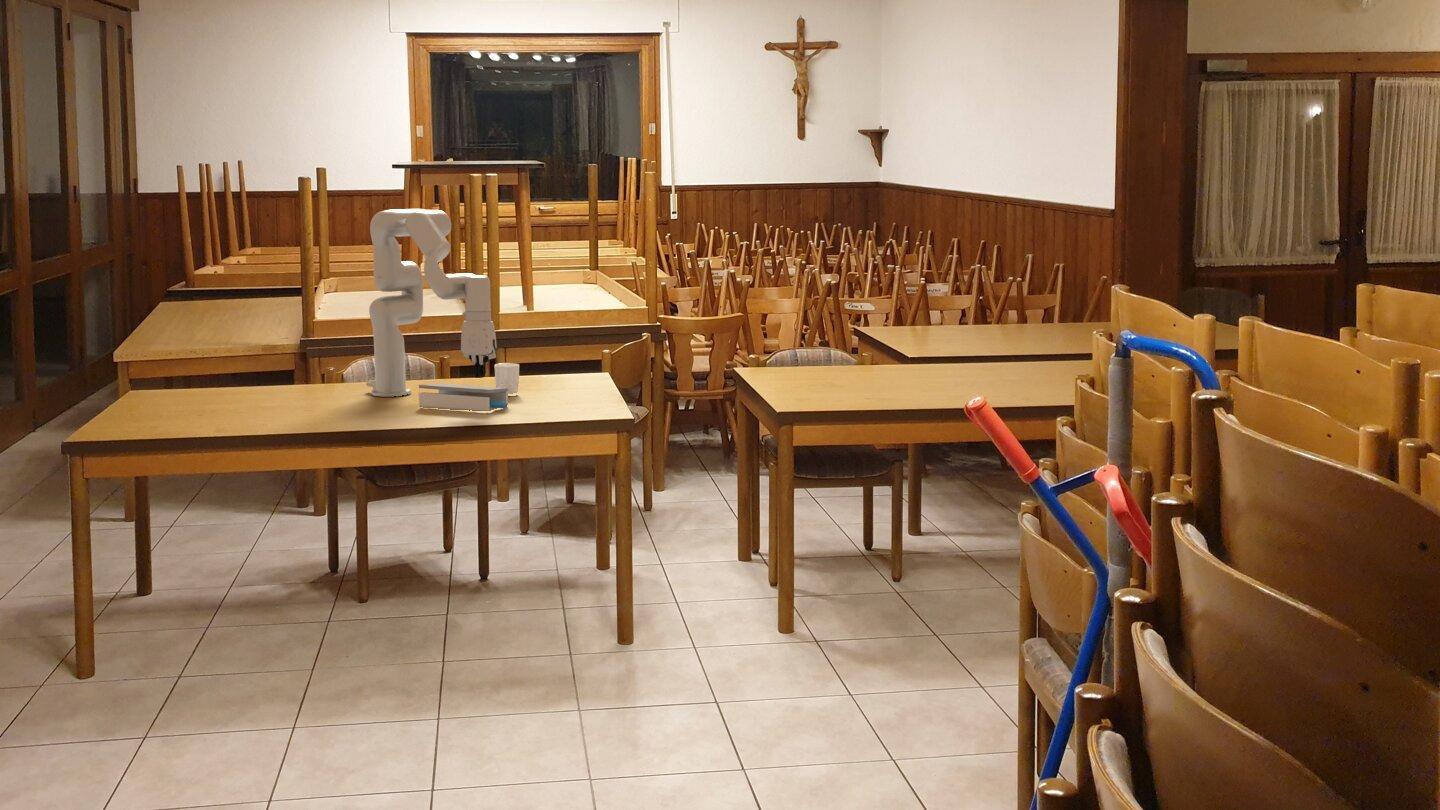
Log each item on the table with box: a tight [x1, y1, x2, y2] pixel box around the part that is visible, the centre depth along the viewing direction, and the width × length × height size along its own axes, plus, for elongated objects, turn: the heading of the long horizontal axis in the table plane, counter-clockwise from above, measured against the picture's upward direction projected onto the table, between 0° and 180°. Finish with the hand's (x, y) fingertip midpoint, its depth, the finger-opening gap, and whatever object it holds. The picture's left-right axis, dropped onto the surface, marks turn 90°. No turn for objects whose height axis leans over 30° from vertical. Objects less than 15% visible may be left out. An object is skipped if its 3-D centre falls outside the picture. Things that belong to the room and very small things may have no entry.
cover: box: [418, 382, 508, 393], centre depth 436 cm, size 24×12×1 cm, turn 69°
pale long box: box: [418, 390, 509, 411], centre depth 436 cm, size 24×12×5 cm, turn 69°
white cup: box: [493, 362, 520, 394], centre depth 458 cm, size 8×8×10 cm
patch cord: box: [489, 400, 507, 409], centre depth 436 cm, size 29×2×2 cm, turn 69°
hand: (480, 377), depth 431 cm, fingers closed
